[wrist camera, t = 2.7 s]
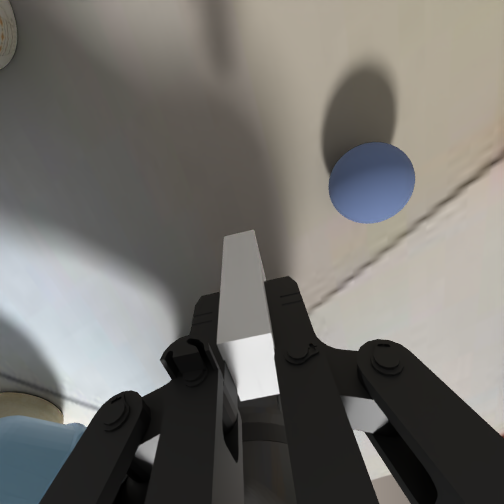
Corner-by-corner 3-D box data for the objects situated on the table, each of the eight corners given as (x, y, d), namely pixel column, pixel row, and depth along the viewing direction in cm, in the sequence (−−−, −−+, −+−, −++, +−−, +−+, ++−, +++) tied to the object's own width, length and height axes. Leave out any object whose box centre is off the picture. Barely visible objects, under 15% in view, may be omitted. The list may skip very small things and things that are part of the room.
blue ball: (322, 214, 22) (347, 244, 18) (316, 147, 20) (343, 161, 15) (386, 199, 22) (429, 225, 17) (389, 129, 19) (440, 137, 15)
